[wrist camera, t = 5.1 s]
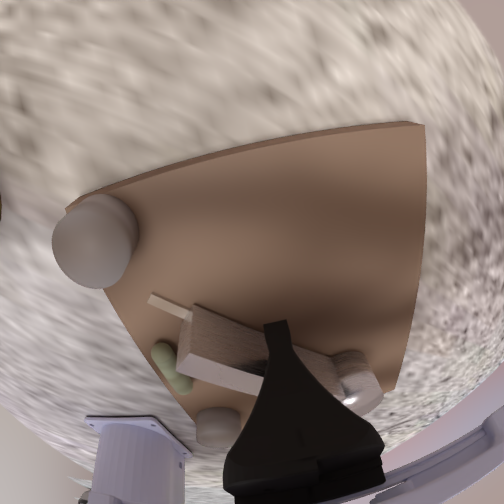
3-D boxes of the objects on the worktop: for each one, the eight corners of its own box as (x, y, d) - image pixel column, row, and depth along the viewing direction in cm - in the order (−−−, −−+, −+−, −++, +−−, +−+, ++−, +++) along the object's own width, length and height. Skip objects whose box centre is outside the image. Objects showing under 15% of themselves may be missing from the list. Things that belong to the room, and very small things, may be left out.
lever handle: (376, 358, 17) (394, 392, 14) (340, 389, 18) (352, 424, 16) (204, 287, 13) (202, 335, 10) (172, 336, 14) (166, 383, 11)
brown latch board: (387, 376, 21) (403, 407, 18) (204, 421, 21) (205, 456, 18) (406, 119, 11) (453, 129, 8) (76, 196, 12) (39, 226, 9)
